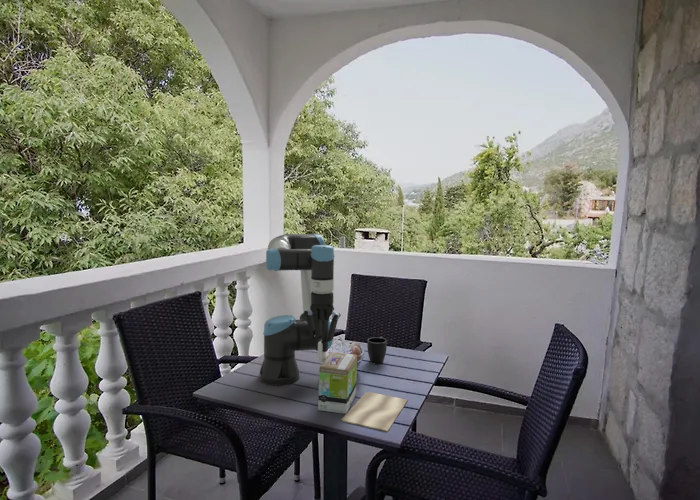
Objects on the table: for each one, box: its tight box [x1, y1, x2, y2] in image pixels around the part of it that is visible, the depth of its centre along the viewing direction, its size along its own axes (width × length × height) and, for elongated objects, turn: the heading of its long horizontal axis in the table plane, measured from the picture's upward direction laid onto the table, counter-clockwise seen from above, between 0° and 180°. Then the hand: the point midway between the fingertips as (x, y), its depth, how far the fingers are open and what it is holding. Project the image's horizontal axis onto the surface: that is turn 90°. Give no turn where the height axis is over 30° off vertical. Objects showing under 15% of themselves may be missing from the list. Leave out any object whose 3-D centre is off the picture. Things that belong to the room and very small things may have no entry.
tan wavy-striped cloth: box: [340, 391, 408, 433], centre depth 135 cm, size 15×22×1 cm
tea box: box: [317, 352, 358, 415], centre depth 140 cm, size 15×10×15 cm
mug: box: [366, 336, 388, 365], centre depth 180 cm, size 8×12×10 cm
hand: (321, 360), depth 141 cm, fingers closed
